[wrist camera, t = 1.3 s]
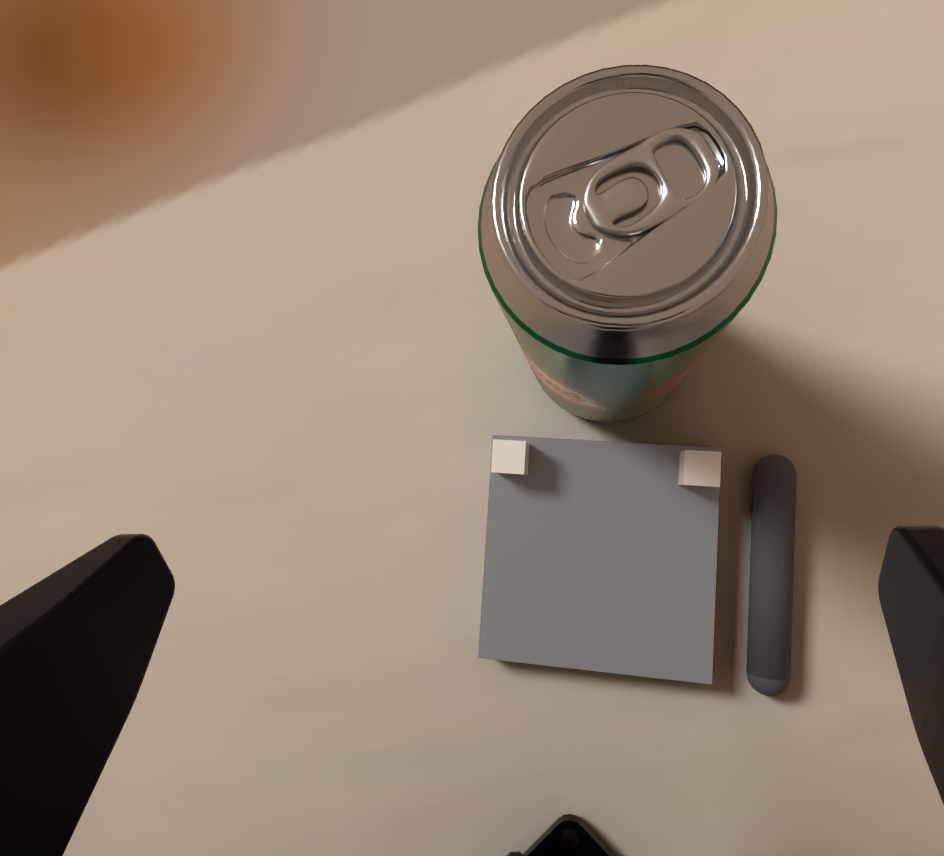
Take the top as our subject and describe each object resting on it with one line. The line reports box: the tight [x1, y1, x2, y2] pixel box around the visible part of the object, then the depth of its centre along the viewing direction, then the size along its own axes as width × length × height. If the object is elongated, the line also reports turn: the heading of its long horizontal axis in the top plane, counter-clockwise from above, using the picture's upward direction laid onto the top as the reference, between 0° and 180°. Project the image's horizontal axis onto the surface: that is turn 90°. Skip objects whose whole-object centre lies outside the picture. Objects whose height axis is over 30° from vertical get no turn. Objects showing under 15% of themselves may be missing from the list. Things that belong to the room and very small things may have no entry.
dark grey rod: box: [746, 455, 796, 696], centre depth 21 cm, size 7×1×1 cm, turn 176°
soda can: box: [478, 65, 777, 422], centre depth 17 cm, size 5×5×12 cm
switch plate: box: [478, 435, 721, 684], centre depth 21 cm, size 7×7×2 cm
